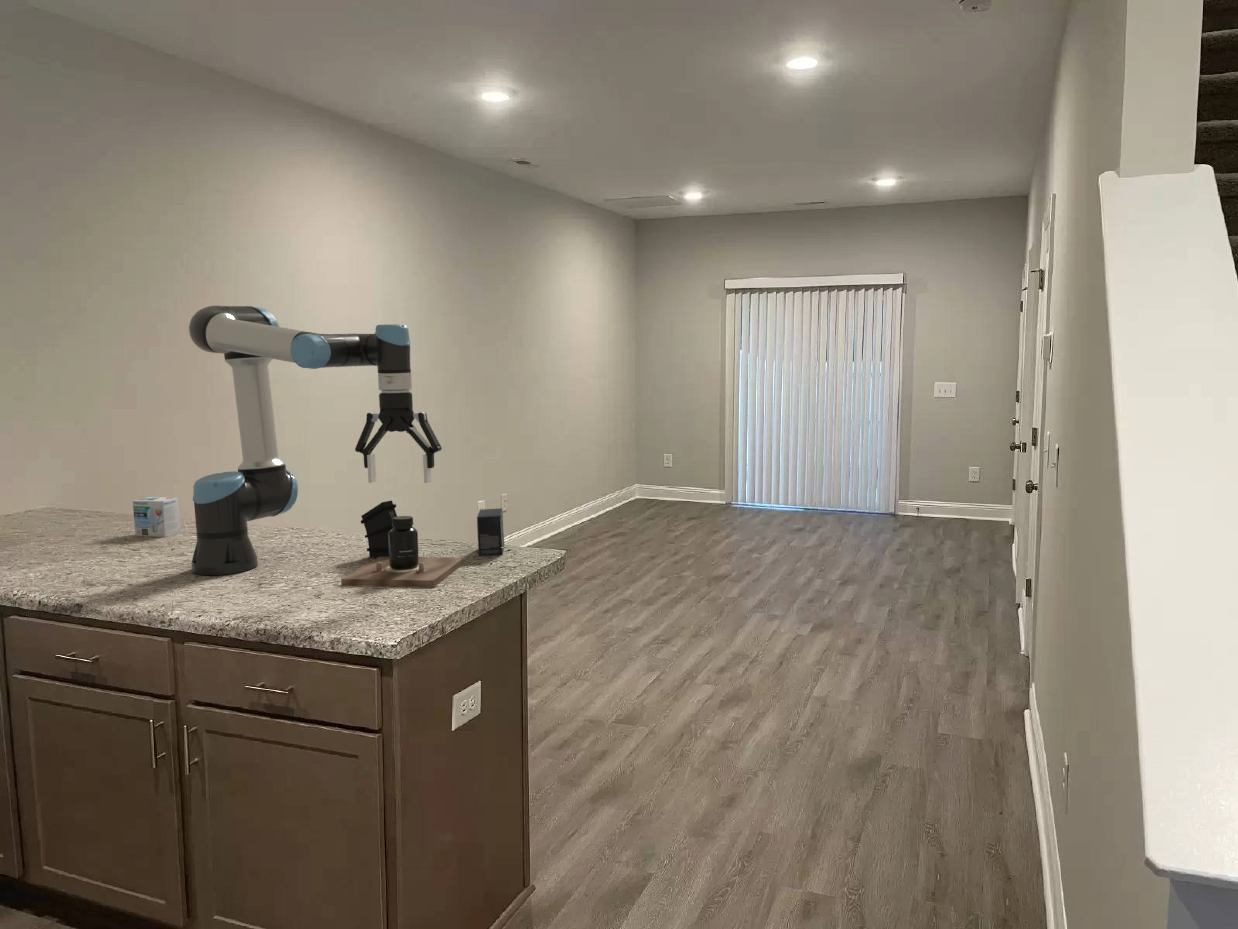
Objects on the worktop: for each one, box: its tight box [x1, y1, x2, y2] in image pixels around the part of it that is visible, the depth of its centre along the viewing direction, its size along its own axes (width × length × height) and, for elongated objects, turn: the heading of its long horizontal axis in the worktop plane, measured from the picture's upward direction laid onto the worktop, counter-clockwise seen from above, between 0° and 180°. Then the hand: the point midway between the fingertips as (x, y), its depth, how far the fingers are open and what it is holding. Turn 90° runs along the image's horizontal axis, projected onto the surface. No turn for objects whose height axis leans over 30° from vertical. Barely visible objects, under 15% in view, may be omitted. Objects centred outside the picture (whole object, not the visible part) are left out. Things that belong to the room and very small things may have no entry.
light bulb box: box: [132, 496, 181, 538], centre depth 274 cm, size 11×7×11 cm, turn 77°
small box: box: [476, 507, 505, 557], centre depth 242 cm, size 11×6×10 cm, turn 5°
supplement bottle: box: [388, 515, 420, 570], centre depth 219 cm, size 7×7×12 cm
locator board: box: [340, 556, 465, 588], centre depth 220 cm, size 22×22×4 cm
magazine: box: [360, 500, 398, 559], centre depth 237 cm, size 4×13×15 cm, turn 50°
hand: (400, 482), depth 217 cm, fingers open, 13 cm apart
